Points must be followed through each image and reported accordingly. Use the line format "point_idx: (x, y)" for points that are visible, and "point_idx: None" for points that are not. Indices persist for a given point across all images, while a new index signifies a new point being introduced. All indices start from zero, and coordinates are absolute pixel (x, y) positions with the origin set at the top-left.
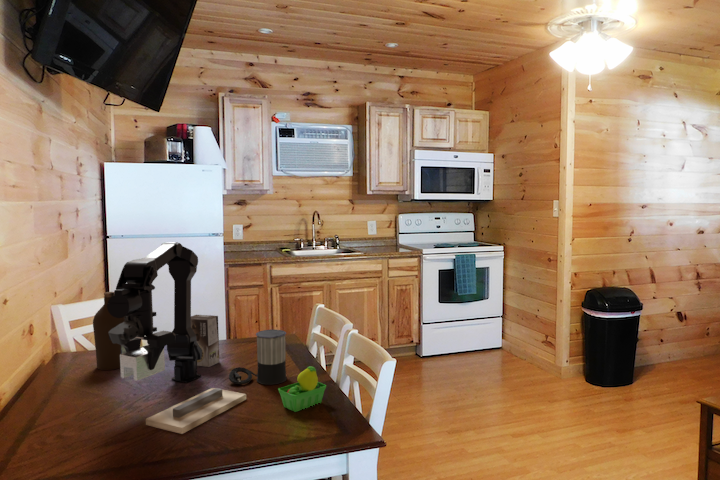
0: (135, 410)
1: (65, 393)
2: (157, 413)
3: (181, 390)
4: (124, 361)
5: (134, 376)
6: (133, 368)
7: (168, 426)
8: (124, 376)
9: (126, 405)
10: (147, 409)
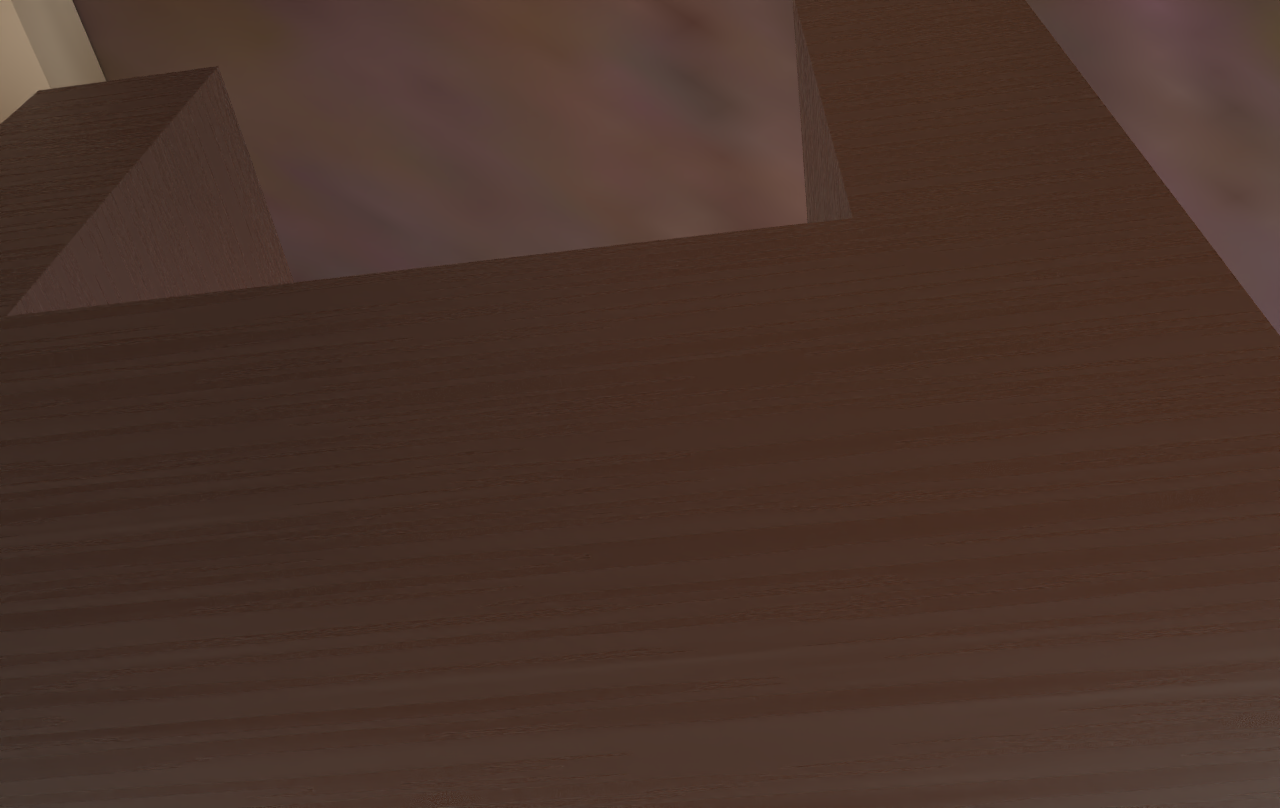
0: (774, 6)
1: None
2: (26, 27)
3: None
4: (771, 440)
5: (117, 131)
6: (8, 320)
7: None
8: (794, 28)
9: (1133, 51)
10: (629, 148)
